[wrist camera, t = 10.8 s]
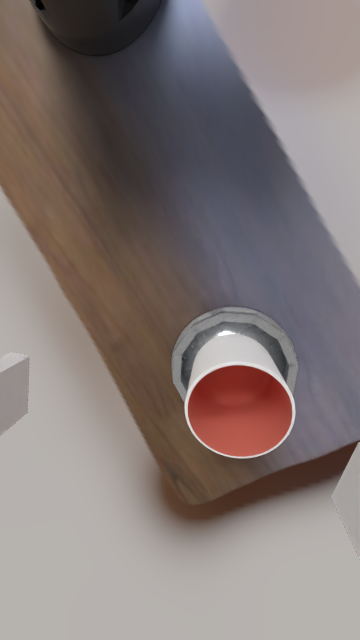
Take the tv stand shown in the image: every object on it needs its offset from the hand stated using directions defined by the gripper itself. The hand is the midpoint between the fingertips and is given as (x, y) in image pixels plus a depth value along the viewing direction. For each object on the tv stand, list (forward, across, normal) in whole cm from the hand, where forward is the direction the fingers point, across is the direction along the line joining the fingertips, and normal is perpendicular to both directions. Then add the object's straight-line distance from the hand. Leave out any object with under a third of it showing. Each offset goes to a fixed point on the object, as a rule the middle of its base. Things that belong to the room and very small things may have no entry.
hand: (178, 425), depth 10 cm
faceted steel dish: (+23, +5, -7) cm, 25 cm away
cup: (+22, +5, -7) cm, 24 cm away
